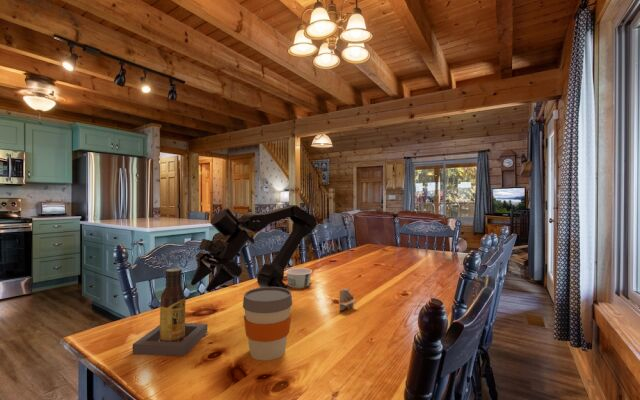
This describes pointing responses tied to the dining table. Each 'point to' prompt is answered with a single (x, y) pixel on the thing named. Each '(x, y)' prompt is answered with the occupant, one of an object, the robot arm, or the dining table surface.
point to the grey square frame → (155, 347)
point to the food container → (298, 277)
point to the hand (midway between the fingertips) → (199, 287)
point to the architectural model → (346, 299)
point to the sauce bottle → (172, 308)
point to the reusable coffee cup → (267, 321)
